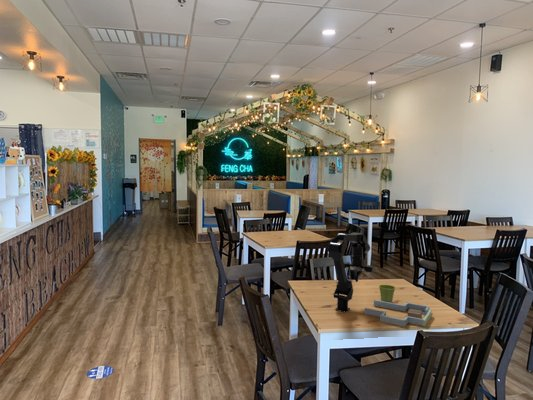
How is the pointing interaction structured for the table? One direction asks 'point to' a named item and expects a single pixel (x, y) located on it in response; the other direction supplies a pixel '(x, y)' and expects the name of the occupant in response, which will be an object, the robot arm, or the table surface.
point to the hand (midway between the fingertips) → (356, 281)
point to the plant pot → (387, 292)
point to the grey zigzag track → (399, 307)
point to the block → (415, 313)
